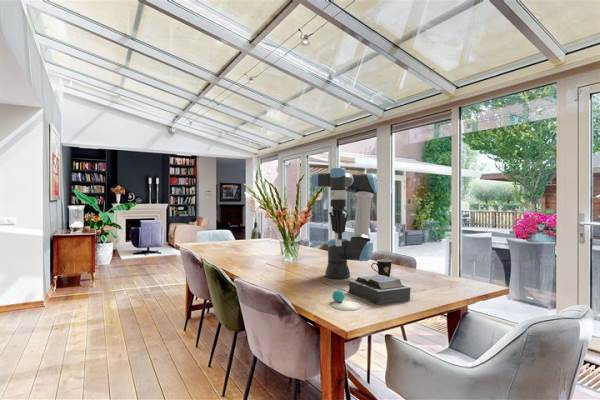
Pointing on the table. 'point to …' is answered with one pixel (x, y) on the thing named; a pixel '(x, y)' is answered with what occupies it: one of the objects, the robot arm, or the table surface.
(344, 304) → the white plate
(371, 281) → the bible
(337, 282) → the table surface
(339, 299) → the ball
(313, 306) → the table surface
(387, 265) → the coffee mug
